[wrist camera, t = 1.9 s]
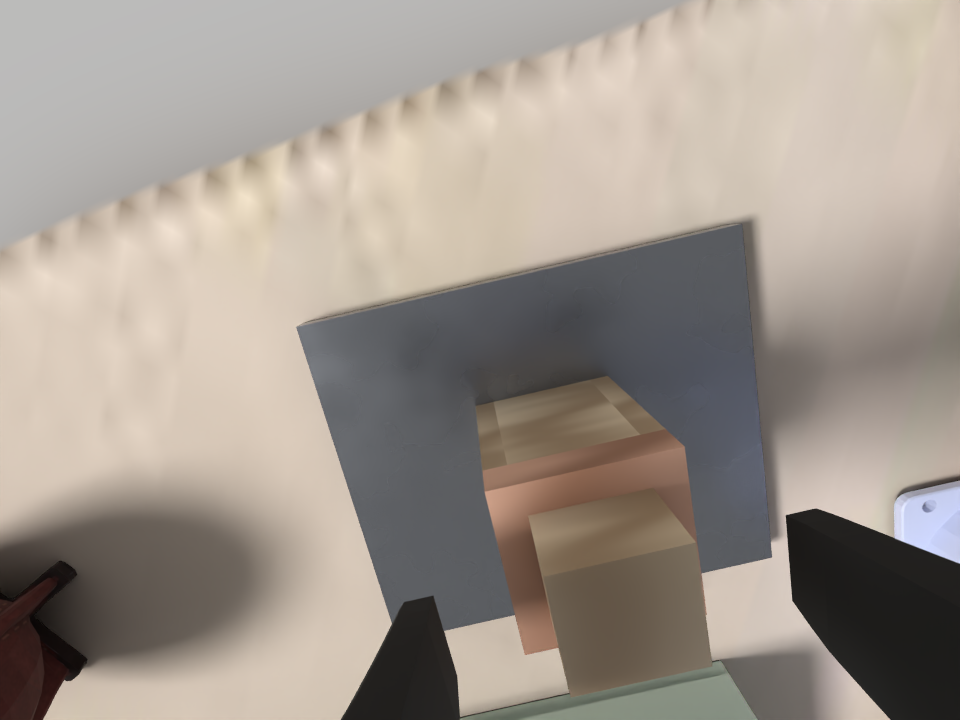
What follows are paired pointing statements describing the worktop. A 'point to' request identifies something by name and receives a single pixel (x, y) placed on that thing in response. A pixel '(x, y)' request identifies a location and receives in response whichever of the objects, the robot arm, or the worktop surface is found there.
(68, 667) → the mate gourd
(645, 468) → the square capped bottle
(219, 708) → the worktop surface
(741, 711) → the bin
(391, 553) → the base
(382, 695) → the robot arm
